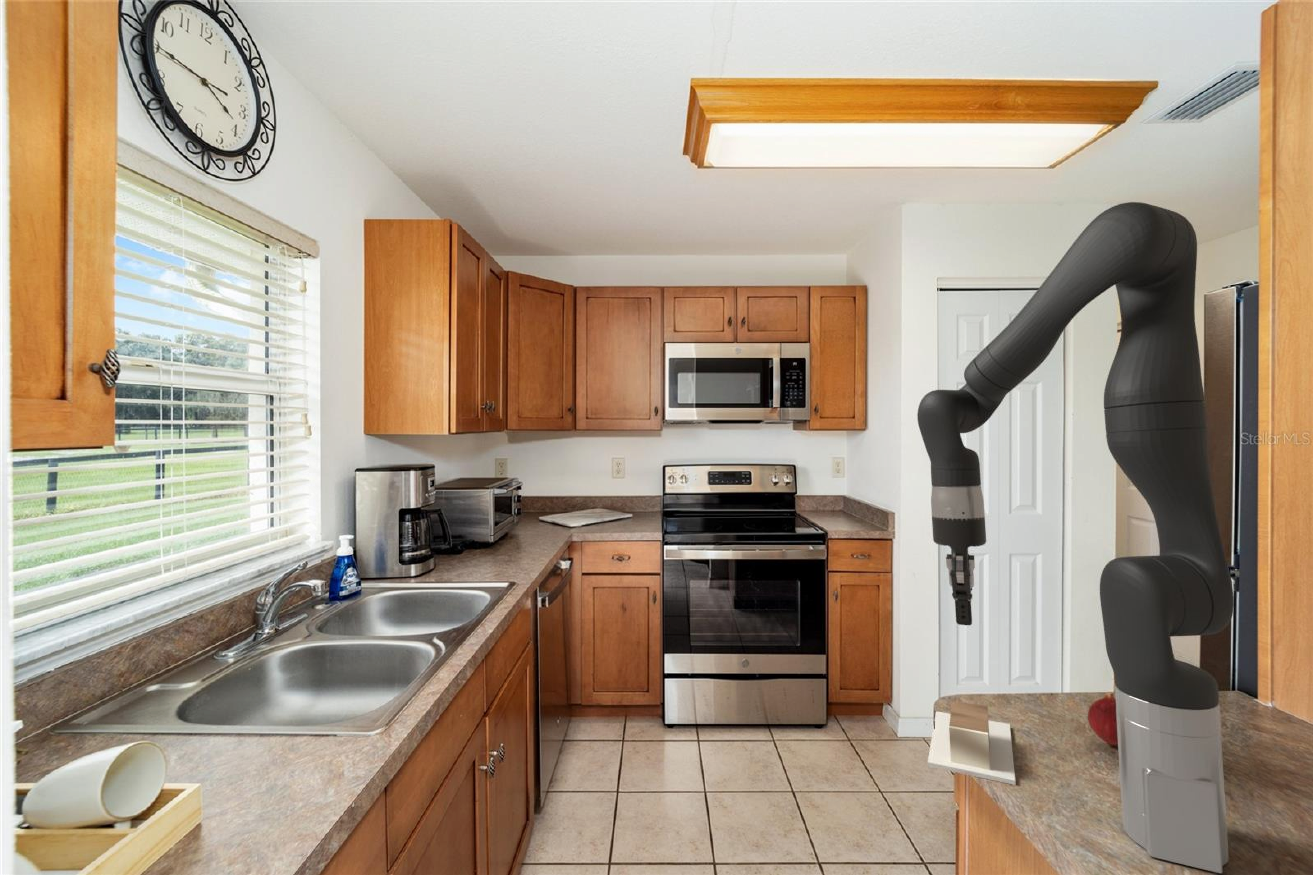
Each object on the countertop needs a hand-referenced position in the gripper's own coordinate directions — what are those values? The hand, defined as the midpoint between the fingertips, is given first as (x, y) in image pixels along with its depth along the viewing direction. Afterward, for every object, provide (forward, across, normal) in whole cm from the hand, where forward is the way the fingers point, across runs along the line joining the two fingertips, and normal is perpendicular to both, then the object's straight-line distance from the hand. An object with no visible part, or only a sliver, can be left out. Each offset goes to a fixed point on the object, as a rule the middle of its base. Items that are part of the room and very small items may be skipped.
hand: (964, 623), depth 91 cm
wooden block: (+16, +2, 0) cm, 16 cm away
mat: (+19, 0, 0) cm, 19 cm away
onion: (+19, +8, -19) cm, 28 cm away
